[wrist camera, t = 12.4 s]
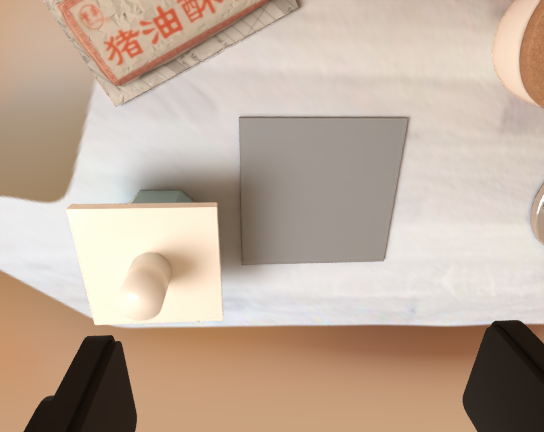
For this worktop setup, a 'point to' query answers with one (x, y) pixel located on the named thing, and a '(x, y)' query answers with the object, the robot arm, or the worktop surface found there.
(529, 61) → the lidded jar
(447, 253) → the worktop surface
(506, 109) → the worktop surface
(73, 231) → the lid
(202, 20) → the packaged product
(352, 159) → the mat
